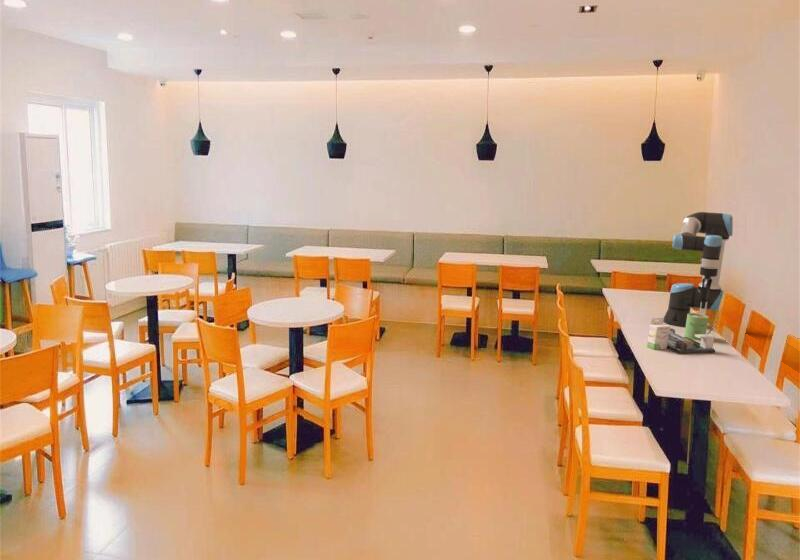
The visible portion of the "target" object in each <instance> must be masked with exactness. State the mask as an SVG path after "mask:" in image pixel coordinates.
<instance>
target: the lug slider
mask: <svg viewBox="0 0 800 560" xmlns="http://www.w3.org/2000/svg"><path fill="white" fill-rule="evenodd" d="M695 336H696V337H698V338H701V340H700V342H699V343H700V347H703V348H705V349H707V348H713V347H714V340H715V335H712V334H710V333H709V334H707V333H706V334H697V335H695Z"/></svg>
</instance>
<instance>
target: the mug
mask: <svg viewBox="0 0 800 560" xmlns="http://www.w3.org/2000/svg"><path fill="white" fill-rule="evenodd" d="M711 322H712V321H710V320H709V316H708V315H699V312H698V313H696V312H690V313H688V314H687V321H686V326H684V327H685V329H684V336H683V337H688V338H690V339H692V340H694V341H701V338H698V337H696V336H695V335H697V334H710V333H711V332H712V330H713V326H712V325H713V324H712V323H711ZM708 323H709V325H710V330H709V331H708V332H707V329H708Z"/></svg>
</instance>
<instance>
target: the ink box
mask: <svg viewBox="0 0 800 560" xmlns="http://www.w3.org/2000/svg"><path fill="white" fill-rule="evenodd" d="M663 320H664V317H654V318H653V317H652V318H651V321H650V324H649V330H648V338H647V339H648V340H647V344H646V347H647V348H650V349H652V350H662V349H664V350H665V349H668V348H667V344H668V337H669V330H670V329H671V326H670V324H667V323H664V322H663Z"/></svg>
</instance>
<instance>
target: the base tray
mask: <svg viewBox="0 0 800 560" xmlns="http://www.w3.org/2000/svg"><path fill="white" fill-rule="evenodd" d="M669 331H671V332H673V333H675V334H676V329H674V328H671V327H670V330H669ZM669 337H673V336H671V335H669ZM683 337H684V338H686V339H688V340H690V341H693V342H694V344H688V343H685V344H684V346H674V345H672V344H670V343H668V344H667V348H666V349H668V350H670V351H672V352H674V353H676V354H678V355H689V354H690V355H691V354H694V355H695V354H697V355H698V354H716V349H715V348H707V349H705V348H703V347H700V343H701V342H698V341H697V340H694V339H690V338H688V337H685V336H683Z"/></svg>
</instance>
